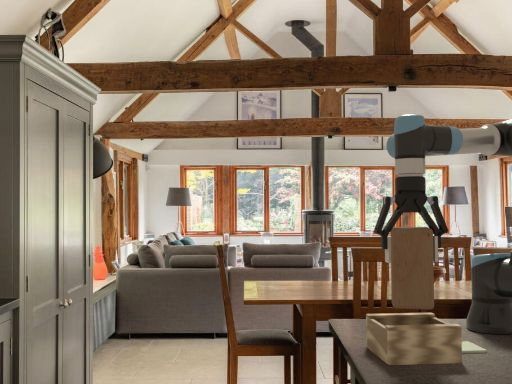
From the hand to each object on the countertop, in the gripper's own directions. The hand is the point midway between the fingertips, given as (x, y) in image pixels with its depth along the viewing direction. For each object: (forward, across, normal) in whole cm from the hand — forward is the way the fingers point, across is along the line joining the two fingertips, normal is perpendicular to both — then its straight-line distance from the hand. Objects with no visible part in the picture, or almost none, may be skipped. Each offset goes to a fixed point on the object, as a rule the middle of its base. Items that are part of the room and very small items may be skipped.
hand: (411, 262), depth 148 cm
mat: (+23, -15, -5) cm, 28 cm away
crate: (+23, 0, 0) cm, 23 cm away
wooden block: (+11, 0, 0) cm, 11 cm away
